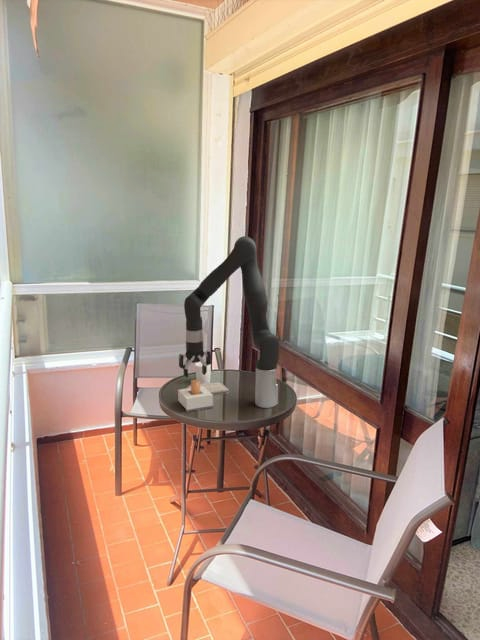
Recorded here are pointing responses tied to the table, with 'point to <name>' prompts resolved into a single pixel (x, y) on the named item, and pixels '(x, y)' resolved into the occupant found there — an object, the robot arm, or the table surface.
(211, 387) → the washcloth
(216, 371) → the table surface
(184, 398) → the socket block
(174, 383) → the table surface
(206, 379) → the white cup
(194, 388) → the plug
